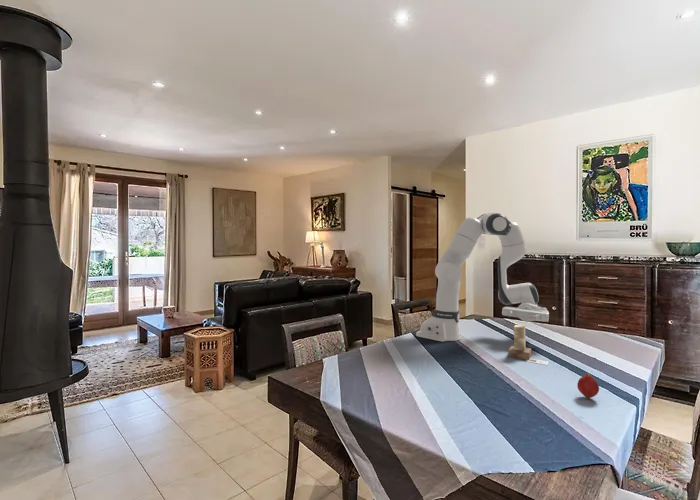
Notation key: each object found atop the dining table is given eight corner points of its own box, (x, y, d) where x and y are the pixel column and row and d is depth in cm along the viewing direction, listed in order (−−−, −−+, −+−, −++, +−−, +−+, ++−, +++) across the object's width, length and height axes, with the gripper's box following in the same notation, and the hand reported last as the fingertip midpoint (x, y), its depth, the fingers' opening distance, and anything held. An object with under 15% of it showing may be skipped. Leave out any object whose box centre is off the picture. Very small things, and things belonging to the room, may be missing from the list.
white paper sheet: (525, 361, 154) (525, 361, 154) (527, 358, 158) (527, 357, 158) (547, 365, 149) (547, 364, 149) (548, 362, 154) (548, 361, 154)
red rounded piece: (578, 392, 122) (579, 368, 122) (599, 397, 119) (600, 372, 119) (575, 398, 118) (576, 373, 118) (597, 403, 114) (598, 377, 114)
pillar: (514, 349, 160) (513, 326, 160) (515, 347, 163) (515, 324, 163) (524, 351, 158) (524, 327, 158) (525, 348, 161) (525, 325, 161)
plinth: (508, 357, 159) (508, 350, 159) (511, 352, 166) (511, 345, 166) (529, 360, 155) (529, 352, 155) (531, 355, 162) (531, 348, 162)
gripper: (504, 302, 188) (499, 306, 176) (550, 308, 178) (548, 312, 166) (503, 315, 188) (498, 319, 177) (549, 321, 178) (547, 326, 166)
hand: (523, 316), depth 171 cm, fingers open, 8 cm apart
